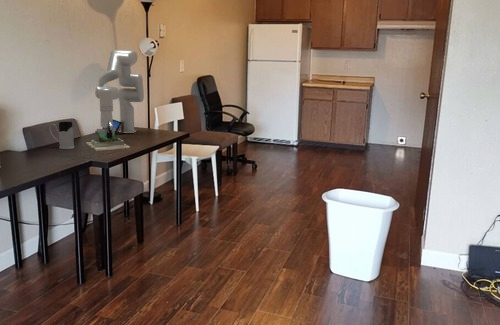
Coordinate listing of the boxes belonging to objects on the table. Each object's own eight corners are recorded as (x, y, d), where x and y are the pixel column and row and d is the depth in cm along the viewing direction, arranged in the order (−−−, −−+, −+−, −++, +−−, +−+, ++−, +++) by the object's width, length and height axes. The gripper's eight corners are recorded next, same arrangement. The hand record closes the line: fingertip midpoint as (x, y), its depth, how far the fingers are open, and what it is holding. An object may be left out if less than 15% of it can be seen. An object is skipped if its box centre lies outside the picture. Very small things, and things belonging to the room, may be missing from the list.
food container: (103, 146, 275) (101, 129, 273) (97, 145, 278) (96, 128, 277) (120, 143, 284) (119, 127, 282) (115, 142, 288) (113, 126, 286)
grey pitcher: (70, 149, 270) (69, 124, 266) (47, 148, 271) (45, 122, 267) (77, 146, 278) (75, 121, 275) (54, 145, 279) (52, 120, 275)
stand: (86, 144, 286) (86, 138, 285) (118, 141, 297) (117, 136, 296) (96, 151, 268) (96, 145, 267) (129, 148, 279) (129, 142, 278)
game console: (94, 132, 324) (93, 120, 322) (112, 131, 333) (112, 119, 331) (103, 136, 313) (103, 123, 310) (122, 134, 321) (122, 122, 319)
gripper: (96, 107, 282) (97, 135, 286) (104, 111, 268) (105, 140, 272) (108, 107, 286) (109, 134, 290) (117, 110, 272) (118, 139, 276)
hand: (107, 137), depth 281 cm, fingers open, 8 cm apart
